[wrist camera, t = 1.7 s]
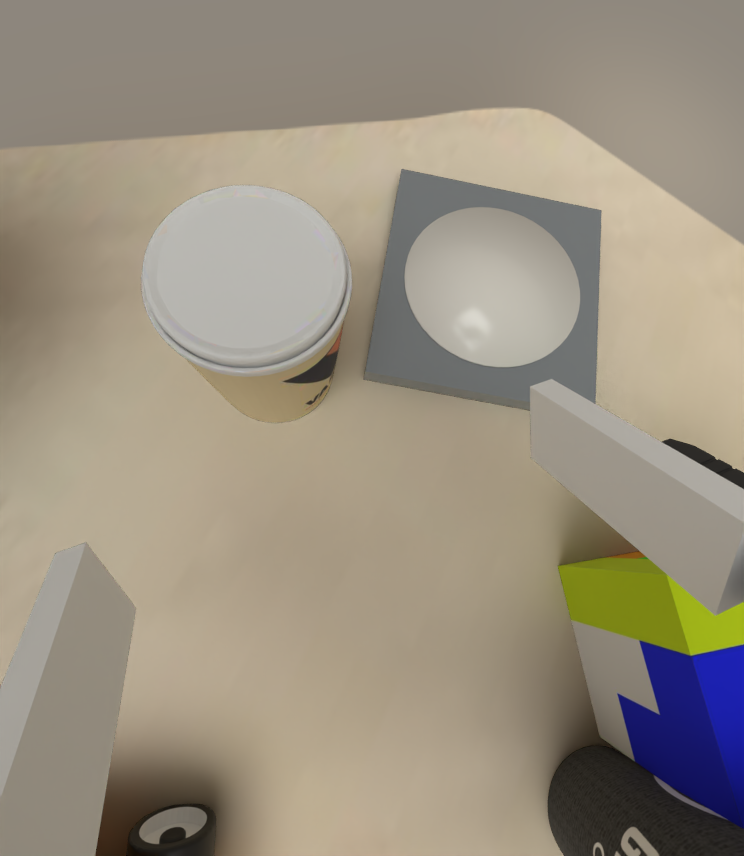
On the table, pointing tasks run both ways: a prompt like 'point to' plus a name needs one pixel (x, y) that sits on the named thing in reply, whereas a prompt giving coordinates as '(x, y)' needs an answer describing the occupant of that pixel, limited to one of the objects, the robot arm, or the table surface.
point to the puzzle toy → (663, 676)
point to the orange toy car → (174, 832)
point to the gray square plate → (486, 293)
